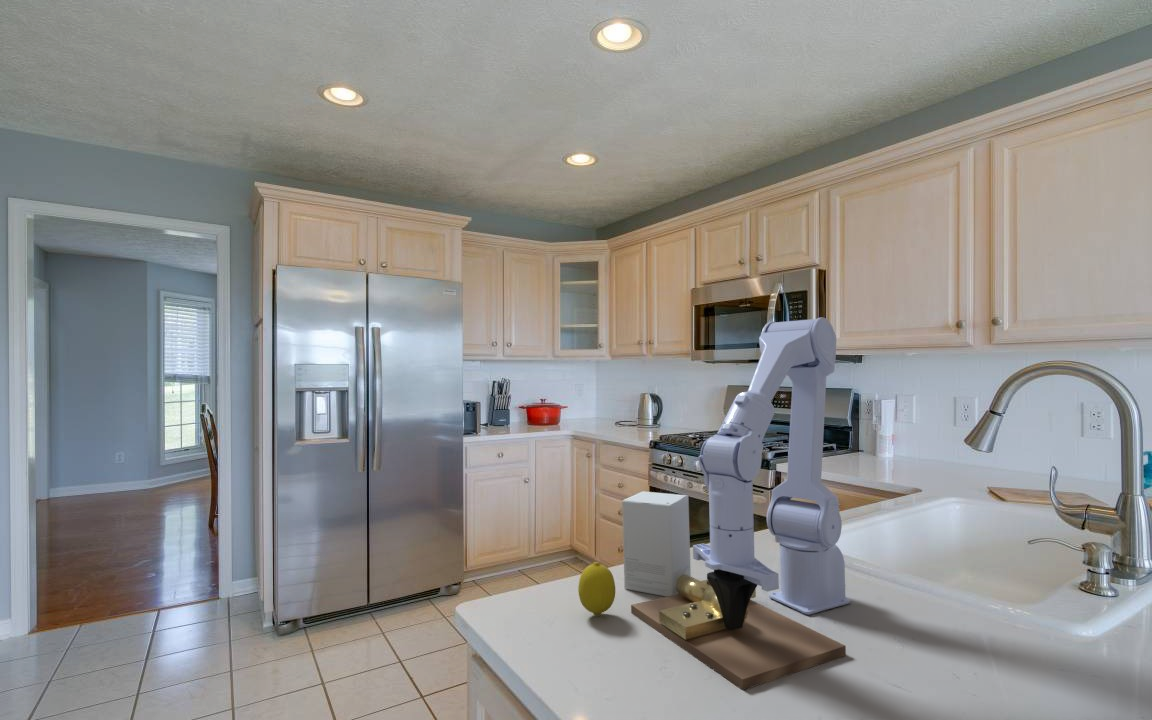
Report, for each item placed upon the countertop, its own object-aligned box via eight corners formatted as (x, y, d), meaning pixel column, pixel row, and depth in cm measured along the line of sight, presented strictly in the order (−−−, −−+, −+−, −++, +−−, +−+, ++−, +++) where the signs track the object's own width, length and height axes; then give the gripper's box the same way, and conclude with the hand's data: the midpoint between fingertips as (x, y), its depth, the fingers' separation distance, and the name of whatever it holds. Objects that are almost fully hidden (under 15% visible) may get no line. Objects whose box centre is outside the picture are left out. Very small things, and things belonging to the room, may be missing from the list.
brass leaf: (719, 607, 85) (718, 585, 85) (747, 622, 80) (747, 599, 80) (659, 622, 80) (658, 599, 80) (685, 639, 75) (685, 614, 75)
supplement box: (692, 581, 100) (690, 494, 100) (673, 599, 92) (671, 505, 92) (644, 572, 104) (642, 489, 105) (622, 589, 96) (620, 499, 97)
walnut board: (719, 592, 94) (719, 584, 94) (845, 655, 73) (845, 645, 73) (631, 612, 87) (631, 604, 87) (742, 690, 65) (742, 679, 65)
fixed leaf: (723, 582, 95) (723, 562, 95) (755, 597, 88) (755, 576, 88) (670, 593, 90) (670, 573, 90) (700, 611, 84) (700, 588, 84)
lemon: (613, 625, 83) (612, 569, 83) (575, 622, 84) (574, 567, 84) (618, 609, 88) (617, 557, 88) (582, 607, 89) (581, 555, 89)
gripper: (674, 517, 82) (676, 613, 82) (746, 543, 69) (749, 658, 69) (713, 511, 85) (716, 603, 85) (790, 535, 72) (793, 644, 72)
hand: (733, 627), depth 77 cm, fingers closed
